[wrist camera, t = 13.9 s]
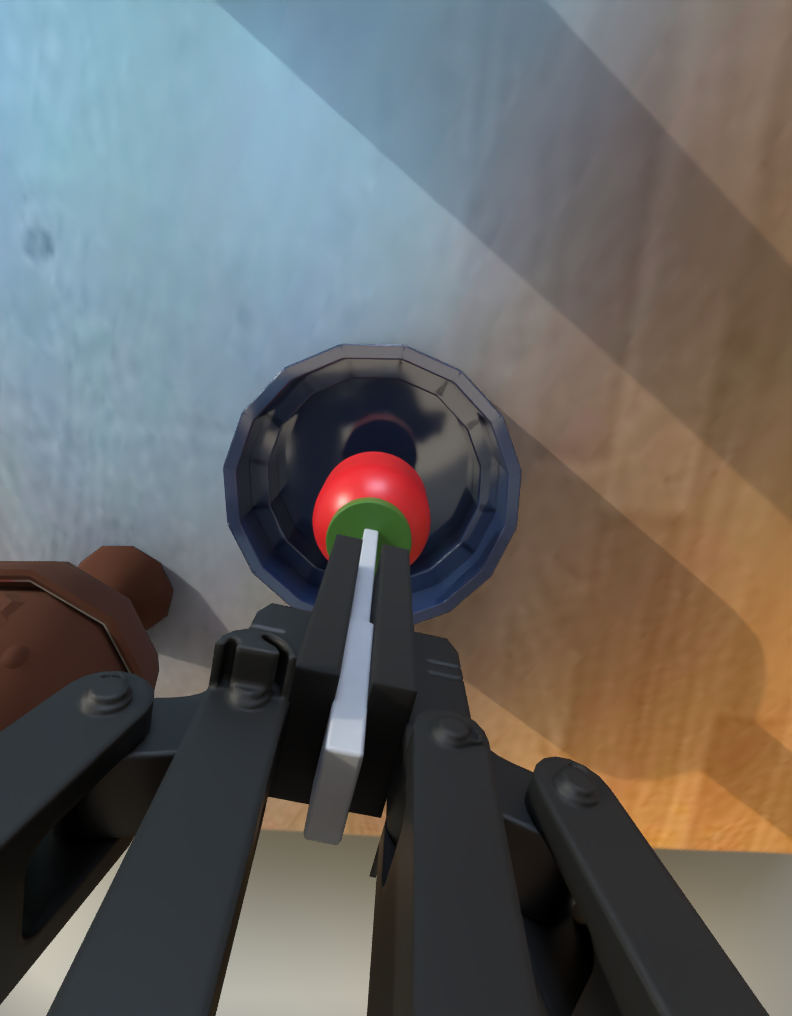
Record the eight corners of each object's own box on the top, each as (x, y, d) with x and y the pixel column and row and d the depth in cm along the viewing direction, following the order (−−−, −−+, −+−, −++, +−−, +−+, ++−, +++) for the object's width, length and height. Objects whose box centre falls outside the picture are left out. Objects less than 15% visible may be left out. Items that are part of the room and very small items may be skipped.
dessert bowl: (209, 402, 28) (171, 414, 23) (449, 302, 27) (461, 293, 22) (313, 616, 32) (299, 665, 27) (530, 538, 30) (556, 574, 25)
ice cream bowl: (85, 693, 33) (-152, 963, 19) (-8, 528, 30) (-379, 698, 16) (247, 646, 32) (128, 891, 18) (168, 471, 29) (-54, 595, 15)
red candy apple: (312, 540, 24) (163, 884, 9) (332, 440, 23) (200, 636, 7) (412, 562, 24) (440, 933, 9) (439, 464, 23) (523, 703, 8)
